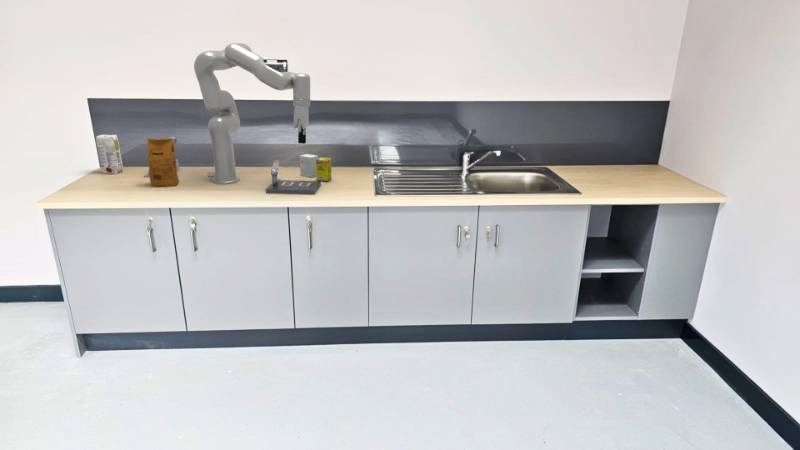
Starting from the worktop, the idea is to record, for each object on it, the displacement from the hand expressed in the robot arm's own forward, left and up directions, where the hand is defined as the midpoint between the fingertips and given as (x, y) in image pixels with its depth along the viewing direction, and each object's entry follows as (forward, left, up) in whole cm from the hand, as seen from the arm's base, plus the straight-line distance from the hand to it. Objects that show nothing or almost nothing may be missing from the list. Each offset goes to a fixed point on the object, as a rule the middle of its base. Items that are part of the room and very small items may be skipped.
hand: (302, 143), depth 230 cm
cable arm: (-14, +4, -14) cm, 21 cm away
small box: (-2, +22, -21) cm, 30 cm away
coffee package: (-66, -2, -21) cm, 69 cm away
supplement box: (+7, +13, -21) cm, 26 cm away
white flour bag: (-102, +17, -21) cm, 105 cm away
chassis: (-4, -4, -21) cm, 22 cm away
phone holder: (-76, +18, -21) cm, 81 cm away
